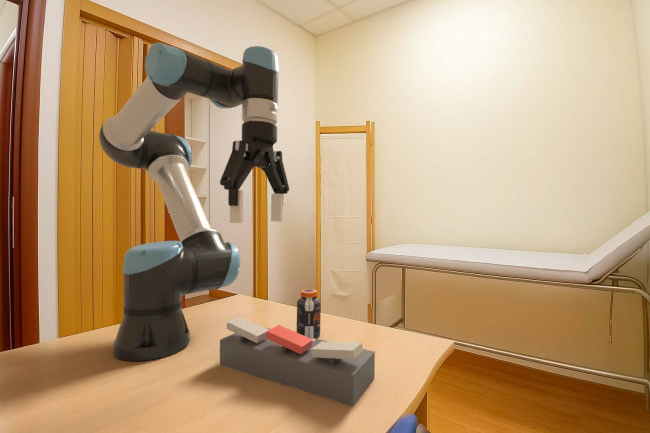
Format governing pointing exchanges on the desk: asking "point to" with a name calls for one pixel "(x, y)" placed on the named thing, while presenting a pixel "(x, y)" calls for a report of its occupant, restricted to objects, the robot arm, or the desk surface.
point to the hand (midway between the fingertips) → (258, 222)
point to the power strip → (301, 367)
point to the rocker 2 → (337, 350)
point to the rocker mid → (289, 339)
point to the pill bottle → (308, 314)
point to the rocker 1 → (247, 329)
